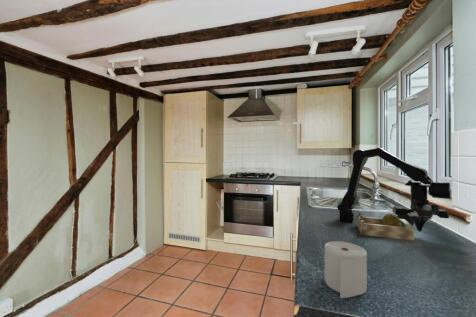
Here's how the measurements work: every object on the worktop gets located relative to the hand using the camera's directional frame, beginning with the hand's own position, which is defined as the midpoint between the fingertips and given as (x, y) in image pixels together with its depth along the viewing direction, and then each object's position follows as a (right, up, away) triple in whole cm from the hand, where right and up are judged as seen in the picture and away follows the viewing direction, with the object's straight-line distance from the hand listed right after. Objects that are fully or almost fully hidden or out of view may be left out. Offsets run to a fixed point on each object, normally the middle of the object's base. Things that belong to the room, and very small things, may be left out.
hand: (419, 231), depth 97 cm
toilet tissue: (-51, -3, -37) cm, 63 cm away
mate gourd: (+4, -3, +14) cm, 15 cm away
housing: (-12, -2, +5) cm, 14 cm away
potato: (-9, -2, +4) cm, 10 cm away
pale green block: (-5, -2, +2) cm, 6 cm away
